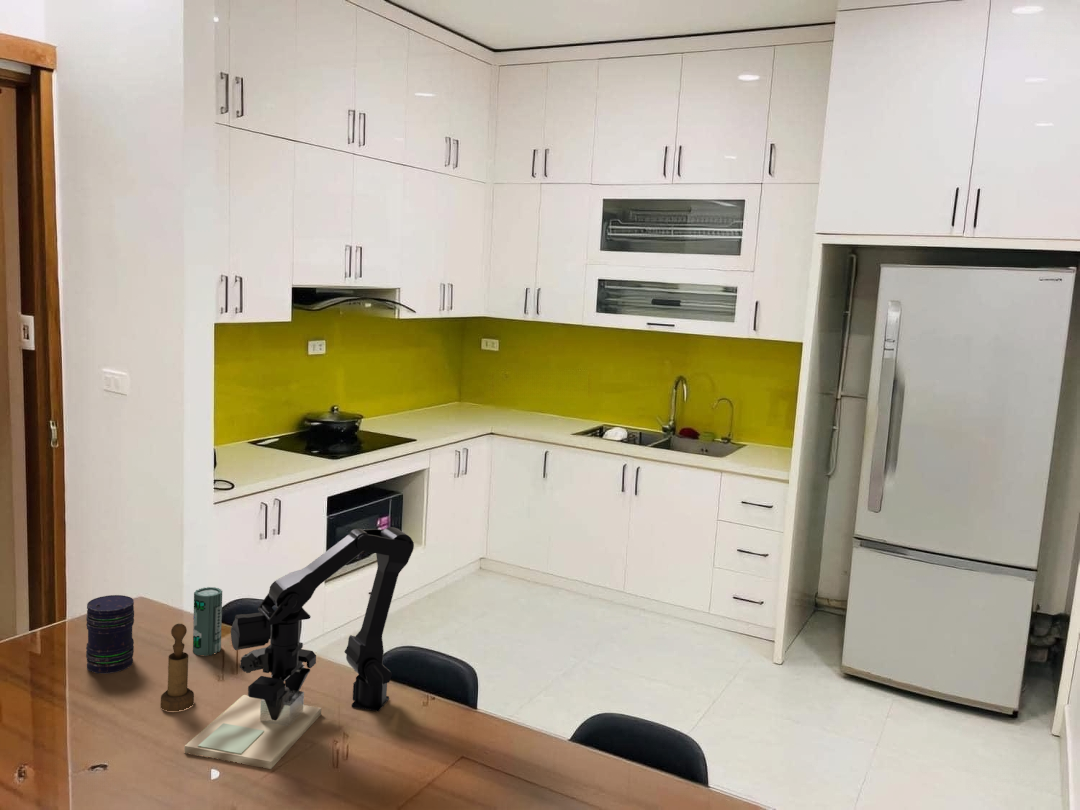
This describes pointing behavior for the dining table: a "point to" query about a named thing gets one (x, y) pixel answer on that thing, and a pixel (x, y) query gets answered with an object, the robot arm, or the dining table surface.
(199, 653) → the can
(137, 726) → the dining table surface
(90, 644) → the storage jar
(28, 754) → the dining table surface
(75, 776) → the dining table surface
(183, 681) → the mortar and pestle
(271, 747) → the board
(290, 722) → the collar
